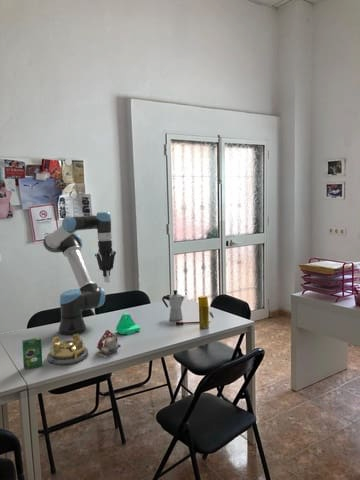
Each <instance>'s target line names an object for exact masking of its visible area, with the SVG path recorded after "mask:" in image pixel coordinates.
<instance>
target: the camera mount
mask: <svg viewBox="0 0 360 480" xmlns="http://www.w3.org/2000/svg"><path fill="white" fill-rule="evenodd" d="M115 331H116V332H117V333H119V334H120V335H125V334H126V335H132V334H136V332H139V331H141V327H140V326H139V325H138V324H136V322H135V321H134V320H133V317H132V316H131V314H129V313H127V312H124V313H122V315H121V317H120V318H119V321H118V323H117V325H116V327H115Z"/></svg>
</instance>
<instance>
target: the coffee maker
mask: <svg viewBox="0 0 360 480" xmlns="http://www.w3.org/2000/svg"><path fill="white" fill-rule="evenodd" d="M172 291H173V294H172V293H171V294H167V295H164V296H162V299H161V301H162V302H163V304H164V305H165V307H166V308H169V306H170V311H169V320H170V321H174V322H175V321H176V322H178V321H181V320H182V321H183V311H182V304H183V301H184V299H185V298H186V296H183V295H182V294H179V293H178V290H177V289H174V290H172ZM166 301H168V302H169V305H168V304H167V302H166Z"/></svg>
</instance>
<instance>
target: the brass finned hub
mask: <svg viewBox="0 0 360 480" xmlns="http://www.w3.org/2000/svg"><path fill="white" fill-rule="evenodd" d="M51 340H52V346H50V348H49V350H50V351H49V353H50V355H51V357H52V358H54V359H71V358H74V352H76V353H77V357H78V356H80V355H82V354H83V353H84V352H85V348H86V347H85V346H86V345H85V343H84V342H83V340H81V334H80V333H79V334H74V335H72V340H65V341H60V340H61V339H60V337H59V336H55V337H53V338H52V339H51Z"/></svg>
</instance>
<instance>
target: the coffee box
mask: <svg viewBox="0 0 360 480" xmlns="http://www.w3.org/2000/svg"><path fill="white" fill-rule="evenodd" d="M42 344H43V343H42V337H33V338H29V339H24V340H23V339H22V359H23V362H22V363H23V370H29V369H30V370H31V369H34V368H38V367H42V366H43V352H42V351H43V350H42V349H43V347H42ZM43 367H44V366H43Z"/></svg>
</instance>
